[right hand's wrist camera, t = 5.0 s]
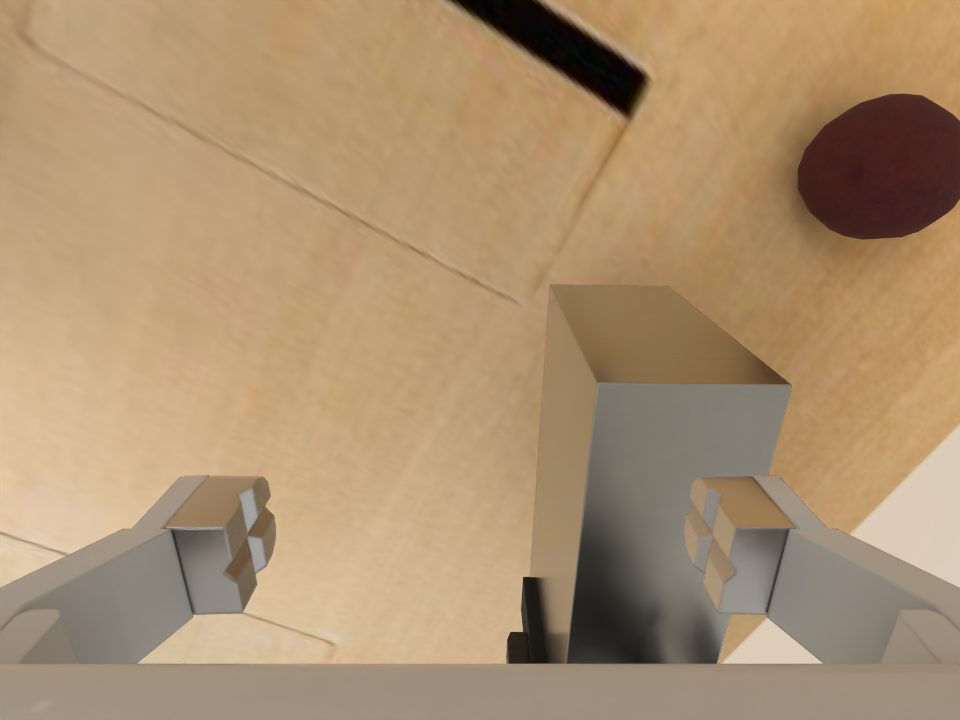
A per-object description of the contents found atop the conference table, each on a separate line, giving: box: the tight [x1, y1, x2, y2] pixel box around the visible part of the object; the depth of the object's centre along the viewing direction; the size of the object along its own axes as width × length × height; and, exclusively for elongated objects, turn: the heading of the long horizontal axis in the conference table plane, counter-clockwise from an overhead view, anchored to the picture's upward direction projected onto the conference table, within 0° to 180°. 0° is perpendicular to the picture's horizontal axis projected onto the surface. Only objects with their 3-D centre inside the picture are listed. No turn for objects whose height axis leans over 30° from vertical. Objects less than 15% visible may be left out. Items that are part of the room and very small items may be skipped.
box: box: [530, 285, 792, 664], centre depth 27 cm, size 22×6×12 cm, turn 179°
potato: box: [798, 94, 960, 239], centre depth 29 cm, size 7×8×7 cm
